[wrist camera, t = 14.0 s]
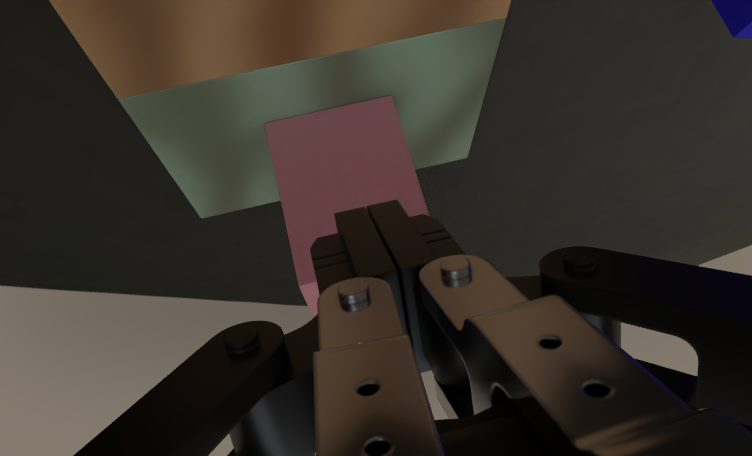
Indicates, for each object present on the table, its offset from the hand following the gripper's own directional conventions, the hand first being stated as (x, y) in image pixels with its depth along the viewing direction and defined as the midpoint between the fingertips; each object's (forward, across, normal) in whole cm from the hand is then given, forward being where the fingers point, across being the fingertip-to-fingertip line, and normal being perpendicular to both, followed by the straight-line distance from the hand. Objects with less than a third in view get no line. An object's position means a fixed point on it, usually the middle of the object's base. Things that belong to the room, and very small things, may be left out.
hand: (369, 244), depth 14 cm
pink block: (+17, -1, +2) cm, 17 cm away
